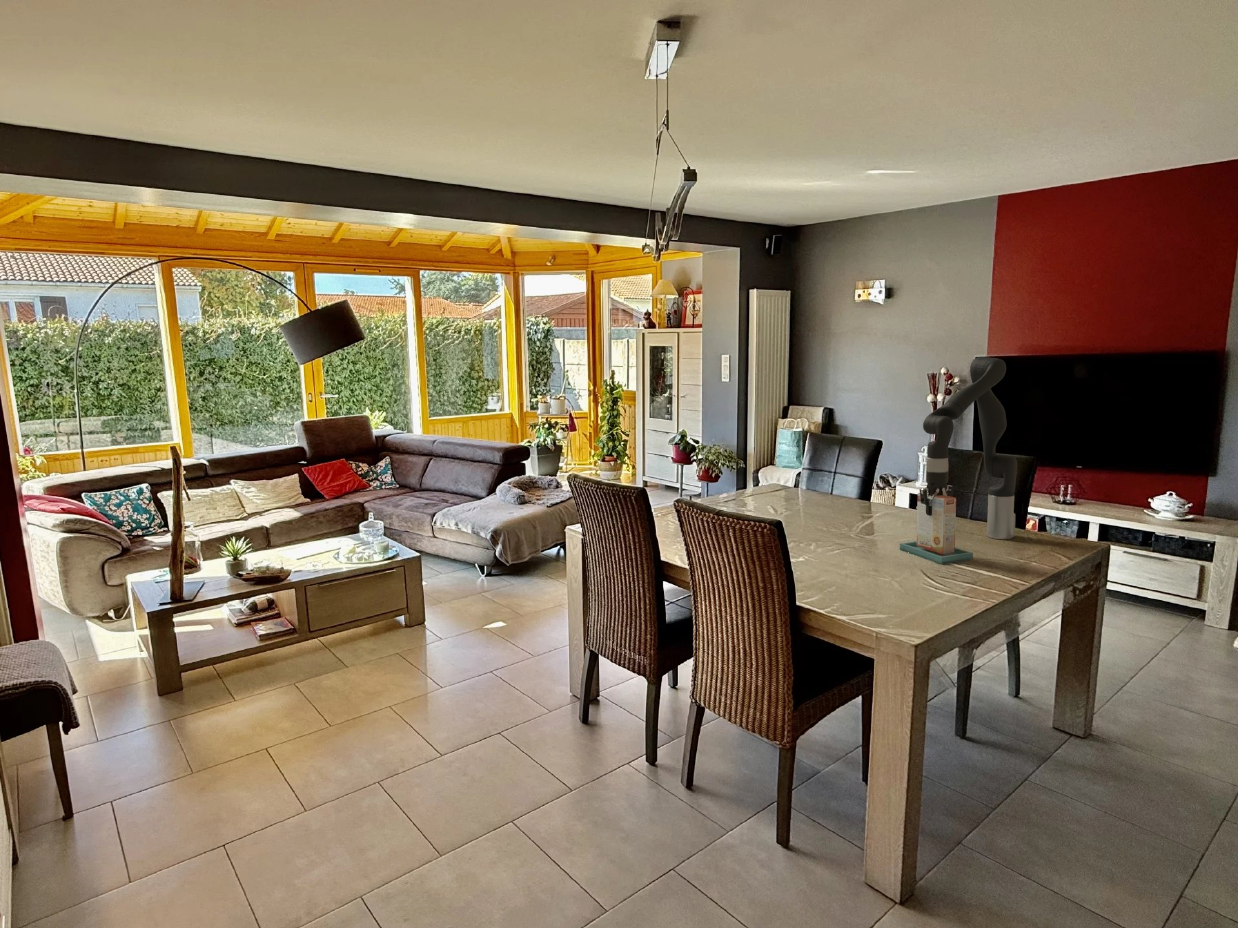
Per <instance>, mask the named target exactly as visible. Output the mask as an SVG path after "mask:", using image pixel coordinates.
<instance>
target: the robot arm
mask: <svg viewBox="0 0 1238 928" xmlns="http://www.w3.org/2000/svg"><path fill="white" fill-rule="evenodd" d="M1006 372H1007V364H1006V362H1005V361H1004V360H1003V359H1001V358H996V357H988V356H987V357H986V356H985V357H984V356H978V357H975V358H974V359H972V361H971V363H970V366H969V375H970V379H971V384H969V385H968V386H965V387H963V388H961V389H959V390H958V391H956V392H954V394H952V395H951V396H950V397H949V399H947V400H946V402H944V404H943V405H942V406H939V407H938V408H936V409H935V410H934V411H932V412H930V413H929V414H928V415H927V416H926V417H925V419H924V420H923V423H922V429H923V431H924V432H925V433H926V434H928V435H936V439H935V440H933V441H930V442H928V444H927V449H926V451H927V452H926V454H927V455H926V463H925V464H926V465H925V471H926V472H925V482H926V486H925V487H924V488H922V487H921V488H919V493H920V499H921V504H925V505H926V514H927V515H929V516H932V503H933V500H934V497H936V496H939V495H945V496H950V497H954V491H955V486H954V485H950V484H947V483H948V482H949V445H950V442H951V440H952V435H953V432H954V430H955V426H954V425H955V424H954V421H955V420H957V419H959V418H960V417H961V416H962V415H963V414H964V413H965V412H966V410H967V409H969V407H970V406H971V405H972V404H973V403H975V401H976V405H977V410H978V418H979V426H980V432H981V438H982V446H983V464H984V465H983V466H984V471H985V474H986V475H987V477H989V478H996V479H1003V482H1002V483H999V484H995V485H991V486H990V487H989V488H988V491H987V492H988V495H987V498H988V499H987V522H986V524H987V525H986V528H987V529H986V537H988V538H990V539H995V540H996V539H997V540H1010V539H1013V538H1015V535H1016V533H1015V532H1016V513H1015V512H1014V510H1015V492H1016V484H1017V482H1016V481H1017V480H1016V479H1017V471H1018V461H1017V458H1016V457H1015V456H1014V455H1009V454H1008V455H1007V454H997V452H996V447H997V444H998V442H999V441H1000V439H1001V437H1002V435H1004V433H1005V431H1006V430H1007V429H1006V428H1007V425H1008V424H1007V416H1006V410H1005V408H1004V406H1003V404H1002V403H1001V401H1000V400H999V398H998V397H997V396H996V395H995V394H994V393H993V391H992V388H993V387H994V386H996V385H997V384H999V383H1000V381H1002V380H1003V378H1004V377H1005V375H1006ZM929 495H930V496H932V497H929ZM929 499H930V502H929Z"/></svg>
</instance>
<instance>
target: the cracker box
mask: <svg viewBox="0 0 1238 928" xmlns="http://www.w3.org/2000/svg"><path fill="white" fill-rule="evenodd" d="M929 497H932V496H930V495H929ZM916 500H917V504H916V505H917V507H916V517H917V518H916V541H917V546H918V547H921V548H924V549H927V550H931V551H934V552H937V553H940V554H949V553H955V547H956V521H957V520H956V517H957V515H956V512H957V511H956V510H957V498H956V497H954V496H953V497H950V496H945V495H939V496H936V497H934V500H933V503H932V516H929V515H927V514H926V505H925V504H921V499H920V492H918V493H917V499H916ZM929 502H930V499H929Z"/></svg>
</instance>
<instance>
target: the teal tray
mask: <svg viewBox="0 0 1238 928" xmlns="http://www.w3.org/2000/svg"><path fill="white" fill-rule="evenodd" d="M899 550H900V551H902V552H905V553H908V552H909V553H908V554H911V555H913V554H914V556H917V557H919V558H922V559H925V560H928V561H931V562H933V561H934V563H936V564H940V565H945V564H946V563H947V564H952V563H958V562H959V561H960V562H964V561H972V560H974V553H973V552H971V551H968V550H965V549H961V548H958V547H956V546H955V553H949V554H940V553H937V552H934V551H931V550H927V549H924V548H921V547H918V546H917V540H915V541H907V542H901V543H899Z"/></svg>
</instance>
